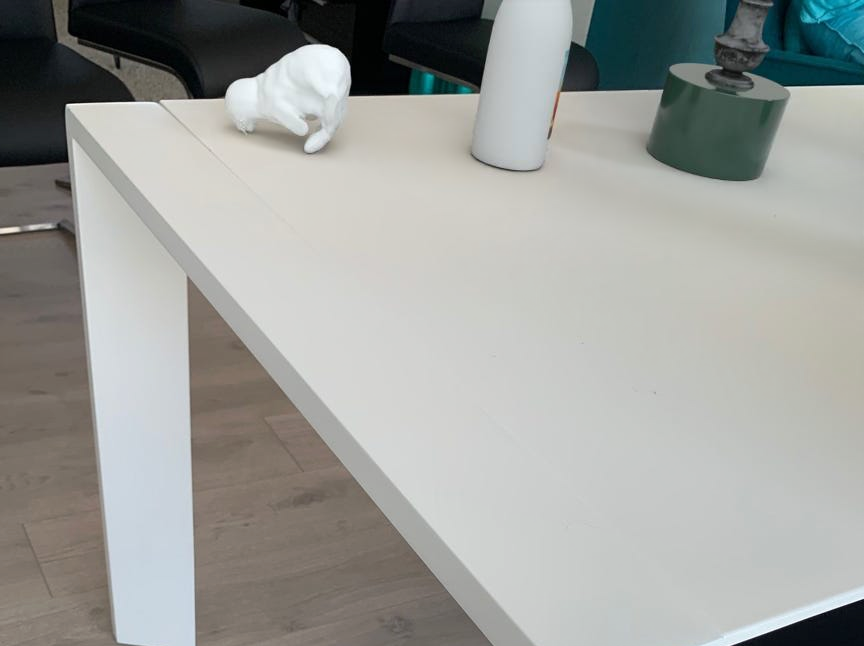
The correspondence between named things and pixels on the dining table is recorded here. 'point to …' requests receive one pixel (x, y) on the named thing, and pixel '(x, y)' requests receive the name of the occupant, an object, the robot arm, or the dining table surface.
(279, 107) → the white figurine
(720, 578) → the dining table surface
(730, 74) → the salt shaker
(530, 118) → the milk bottle
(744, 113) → the pedestal
